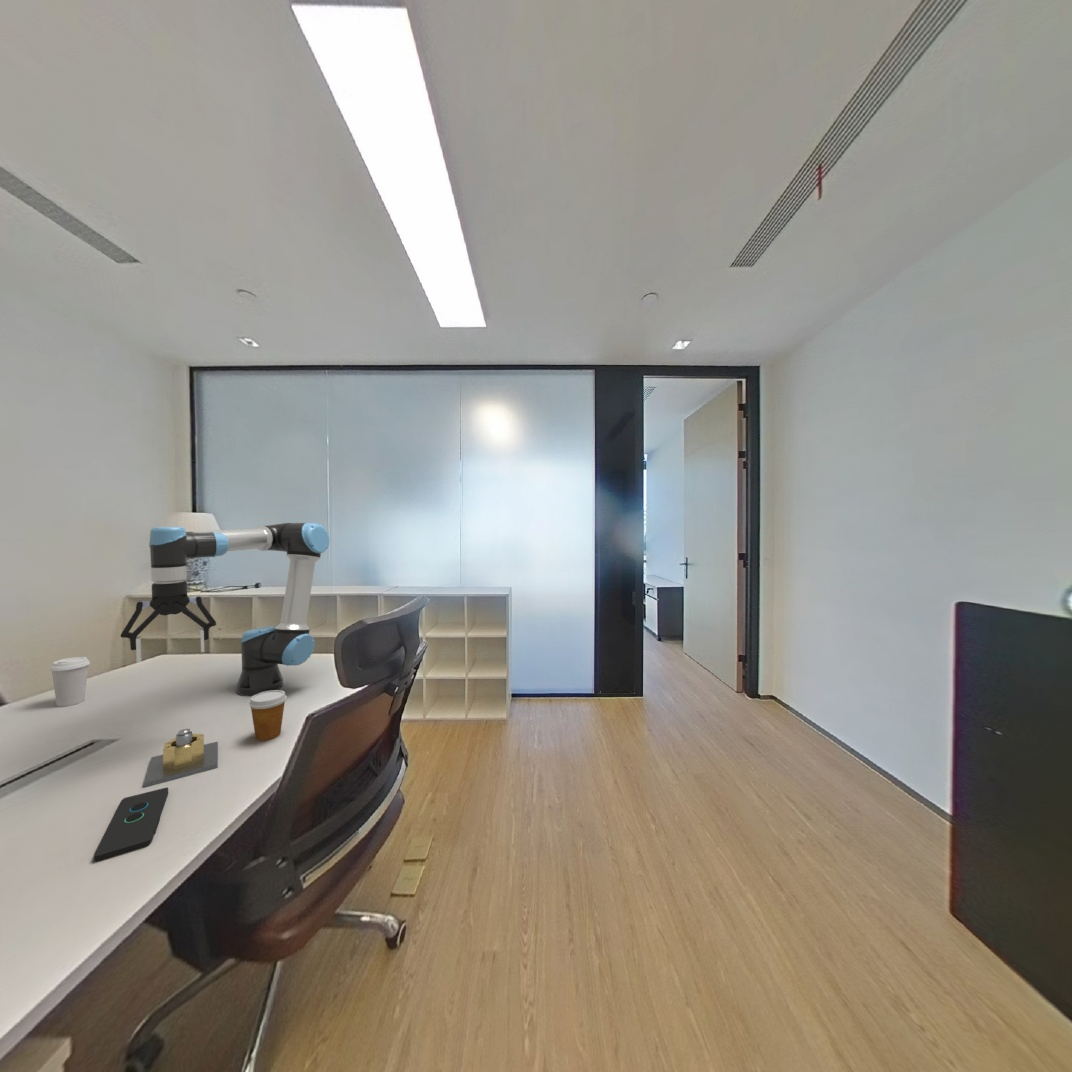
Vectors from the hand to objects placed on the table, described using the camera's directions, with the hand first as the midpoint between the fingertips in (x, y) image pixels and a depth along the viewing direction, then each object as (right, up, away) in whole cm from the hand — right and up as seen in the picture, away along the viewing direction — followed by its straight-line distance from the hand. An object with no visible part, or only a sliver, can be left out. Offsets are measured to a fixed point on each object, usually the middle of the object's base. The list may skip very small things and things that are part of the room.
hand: (172, 656), depth 119 cm
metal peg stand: (+11, -26, -9) cm, 30 cm away
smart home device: (+19, -27, -31) cm, 45 cm away
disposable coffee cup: (+23, -26, +6) cm, 35 cm away
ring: (+11, -25, -9) cm, 29 cm away
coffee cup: (-59, -25, +28) cm, 70 cm away
